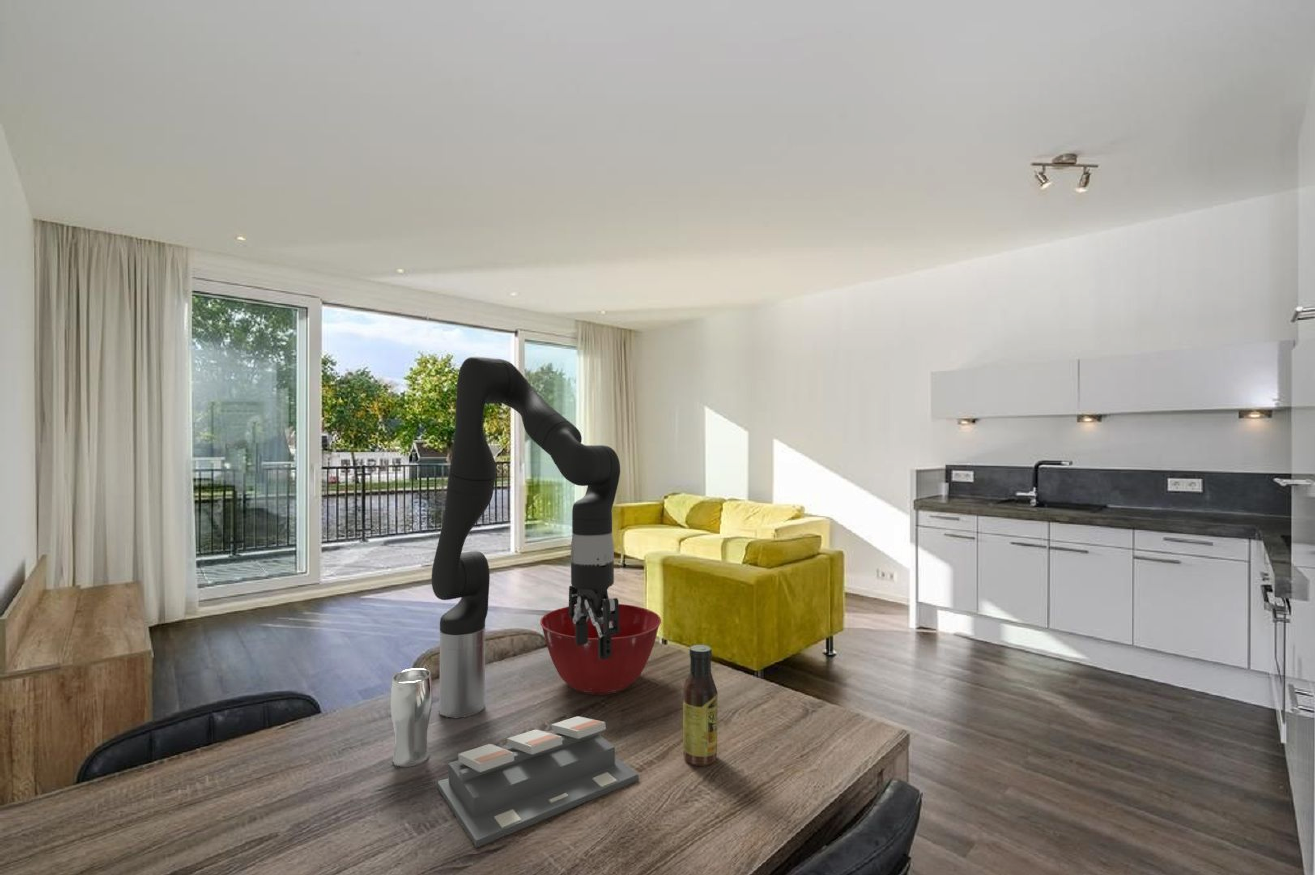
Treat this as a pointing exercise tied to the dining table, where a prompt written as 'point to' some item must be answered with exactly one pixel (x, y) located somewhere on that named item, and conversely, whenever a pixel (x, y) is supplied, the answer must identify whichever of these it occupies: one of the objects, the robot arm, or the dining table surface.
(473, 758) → the switch
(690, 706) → the sauce bottle
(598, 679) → the mixing bowl
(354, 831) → the dining table surface
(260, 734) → the dining table surface
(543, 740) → the switch
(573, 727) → the switch
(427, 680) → the beer glass
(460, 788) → the switch box
